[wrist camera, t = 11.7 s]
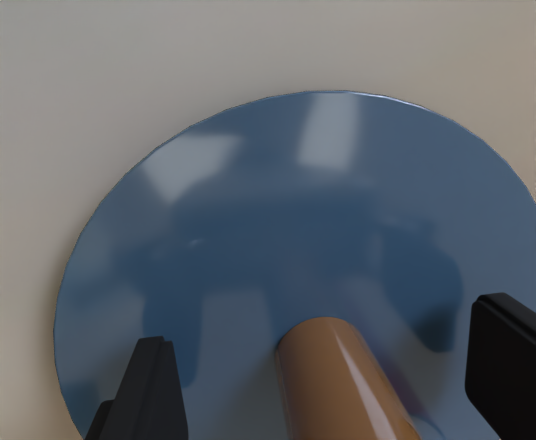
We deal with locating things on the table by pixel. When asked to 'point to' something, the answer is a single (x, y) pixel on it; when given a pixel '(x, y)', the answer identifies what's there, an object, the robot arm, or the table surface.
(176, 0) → the table surface
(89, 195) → the table surface
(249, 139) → the crock lid
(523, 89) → the table surface
